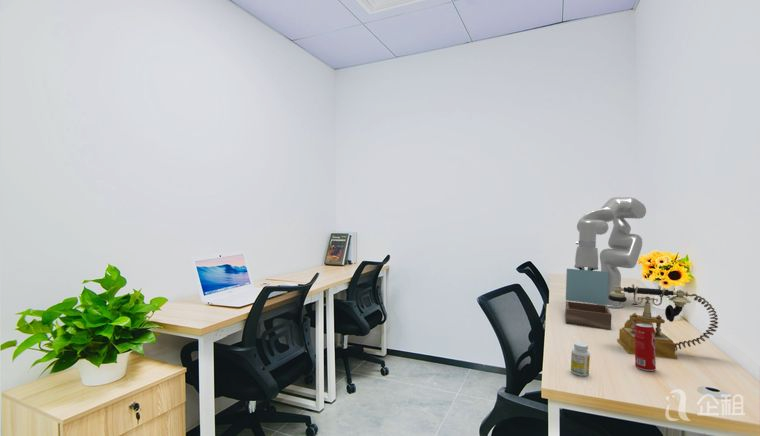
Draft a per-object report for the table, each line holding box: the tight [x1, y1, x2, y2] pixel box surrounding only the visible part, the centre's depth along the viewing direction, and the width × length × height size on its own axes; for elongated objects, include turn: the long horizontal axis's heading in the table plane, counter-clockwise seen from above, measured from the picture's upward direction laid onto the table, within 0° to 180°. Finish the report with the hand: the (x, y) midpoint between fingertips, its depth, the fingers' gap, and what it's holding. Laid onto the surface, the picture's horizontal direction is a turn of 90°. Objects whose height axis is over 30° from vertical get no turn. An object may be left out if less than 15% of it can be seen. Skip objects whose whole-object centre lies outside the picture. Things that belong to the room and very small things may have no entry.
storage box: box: [564, 300, 613, 331], centre depth 179 cm, size 16×18×7 cm
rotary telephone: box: [608, 283, 719, 360], centre depth 146 cm, size 35×18×25 cm, turn 74°
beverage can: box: [634, 323, 657, 372], centre depth 129 cm, size 6×6×15 cm
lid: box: [565, 268, 608, 305], centre depth 188 cm, size 16×18×1 cm
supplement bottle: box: [570, 341, 591, 377], centre depth 125 cm, size 5×5×10 cm
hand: (585, 280), depth 192 cm, fingers closed
